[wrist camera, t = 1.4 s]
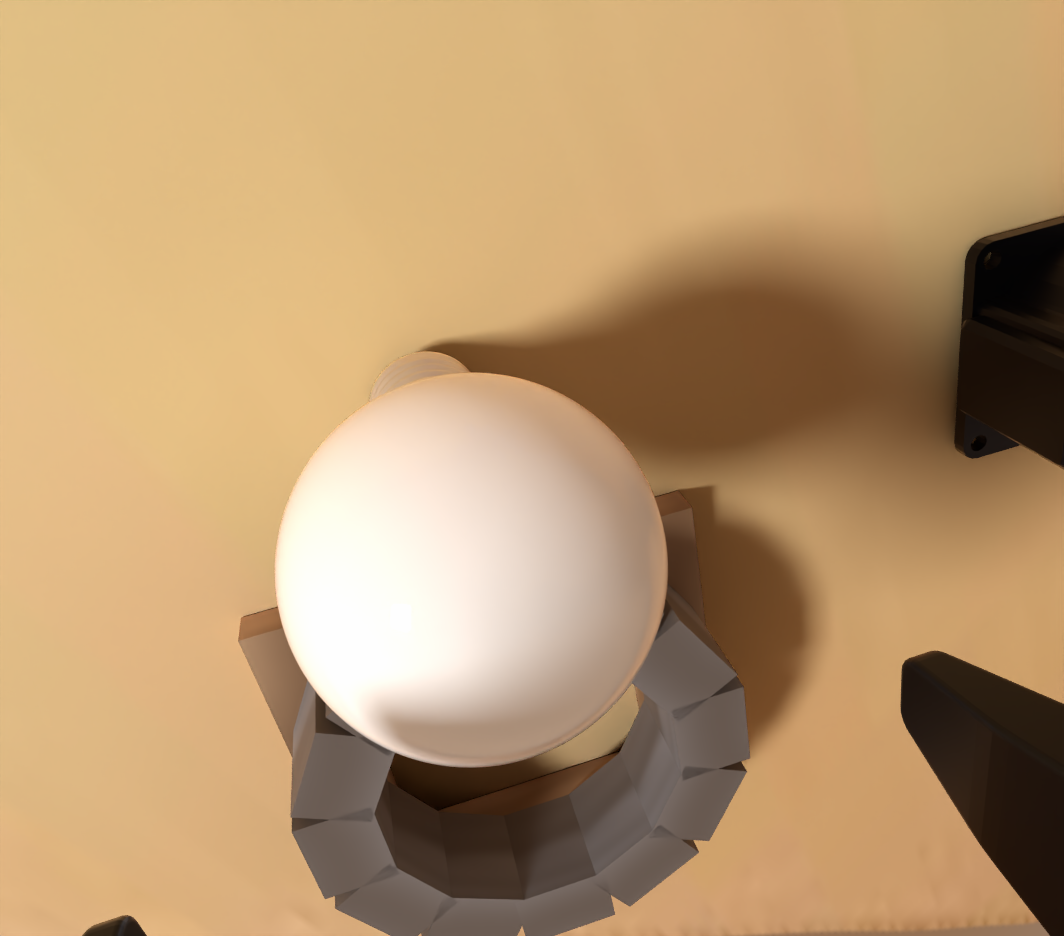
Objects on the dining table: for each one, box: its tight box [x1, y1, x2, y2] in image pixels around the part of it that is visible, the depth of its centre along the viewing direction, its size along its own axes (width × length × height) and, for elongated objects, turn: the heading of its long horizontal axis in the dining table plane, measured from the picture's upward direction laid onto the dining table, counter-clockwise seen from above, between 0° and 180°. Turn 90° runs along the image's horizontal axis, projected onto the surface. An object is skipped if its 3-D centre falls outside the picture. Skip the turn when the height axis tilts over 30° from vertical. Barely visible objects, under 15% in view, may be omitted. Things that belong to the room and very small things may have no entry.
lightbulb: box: [275, 351, 668, 768], centre depth 16 cm, size 6×6×11 cm
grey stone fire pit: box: [238, 491, 750, 936], centre depth 24 cm, size 12×12×4 cm
